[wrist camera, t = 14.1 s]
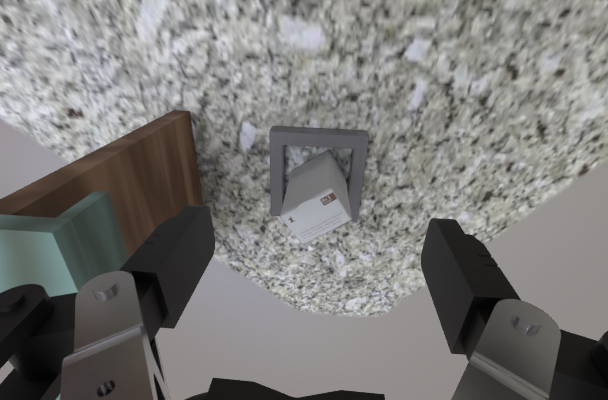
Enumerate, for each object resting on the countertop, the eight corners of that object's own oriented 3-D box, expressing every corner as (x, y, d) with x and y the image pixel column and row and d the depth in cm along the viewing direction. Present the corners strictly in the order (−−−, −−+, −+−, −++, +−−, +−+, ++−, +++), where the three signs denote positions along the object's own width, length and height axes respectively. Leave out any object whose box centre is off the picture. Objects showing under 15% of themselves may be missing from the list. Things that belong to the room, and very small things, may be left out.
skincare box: (307, 194, 42) (301, 249, 31) (289, 168, 40) (276, 217, 30) (347, 172, 40) (354, 223, 29) (329, 144, 38) (331, 188, 28)
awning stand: (221, 108, 37) (52, 233, 14) (231, 214, 44) (129, 409, 21) (172, 106, 37) (-72, 224, 14) (190, 211, 44) (46, 402, 22)
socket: (366, 130, 37) (369, 136, 35) (355, 211, 43) (357, 221, 41) (272, 125, 38) (269, 131, 35) (273, 206, 43) (271, 215, 41)
